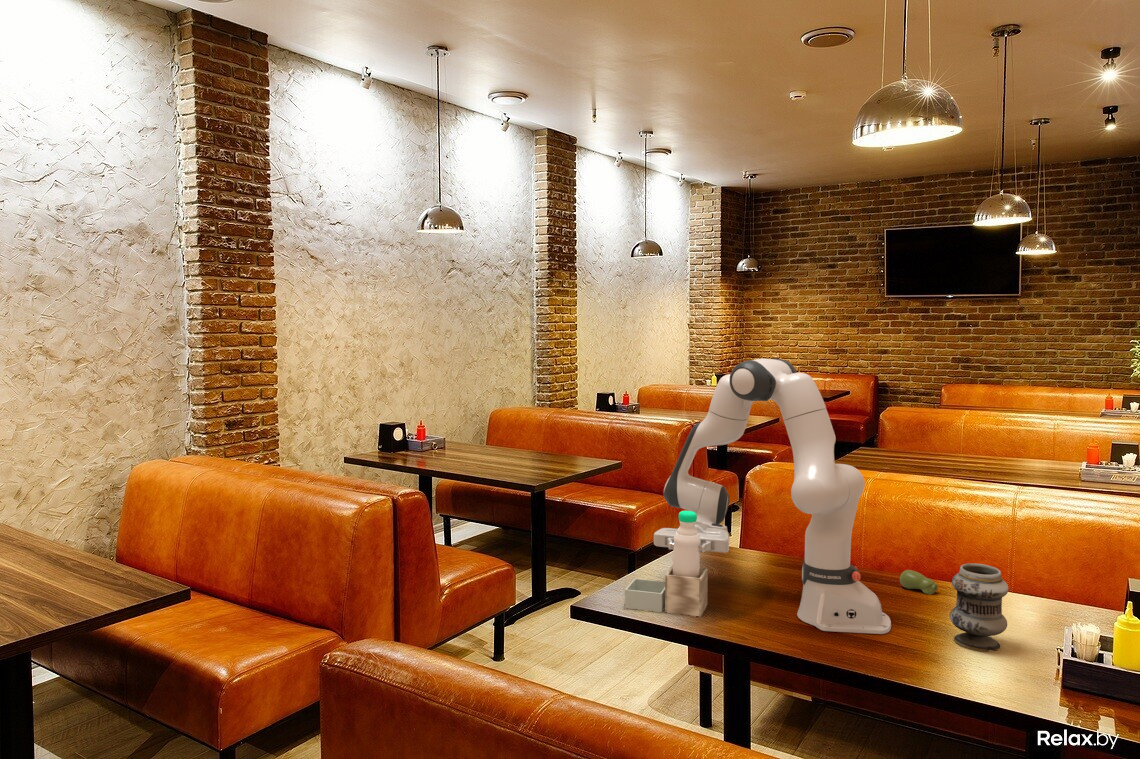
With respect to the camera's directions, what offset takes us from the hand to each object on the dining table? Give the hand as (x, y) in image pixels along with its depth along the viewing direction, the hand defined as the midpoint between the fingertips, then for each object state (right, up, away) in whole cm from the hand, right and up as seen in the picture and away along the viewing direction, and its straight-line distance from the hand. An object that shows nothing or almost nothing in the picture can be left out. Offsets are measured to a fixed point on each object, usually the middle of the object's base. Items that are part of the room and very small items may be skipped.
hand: (686, 547), depth 207 cm
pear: (+68, -16, +16) cm, 72 cm away
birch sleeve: (0, -16, +2) cm, 17 cm away
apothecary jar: (+65, -18, -21) cm, 71 cm away
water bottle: (0, -16, +2) cm, 16 cm away
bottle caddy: (-9, -16, +5) cm, 20 cm away
